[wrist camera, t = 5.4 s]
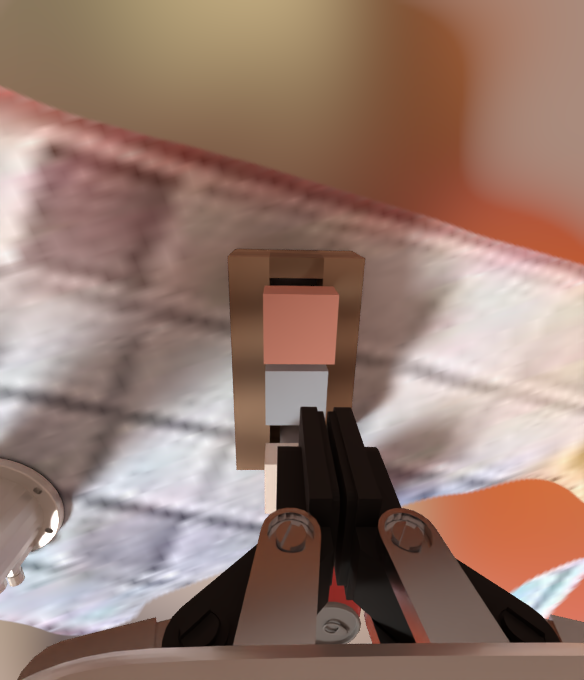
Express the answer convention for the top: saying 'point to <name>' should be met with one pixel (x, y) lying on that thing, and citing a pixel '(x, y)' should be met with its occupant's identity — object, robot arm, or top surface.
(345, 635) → the beer can
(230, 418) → the top surface
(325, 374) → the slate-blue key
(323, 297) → the brick-red key
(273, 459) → the white key
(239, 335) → the walnut console
